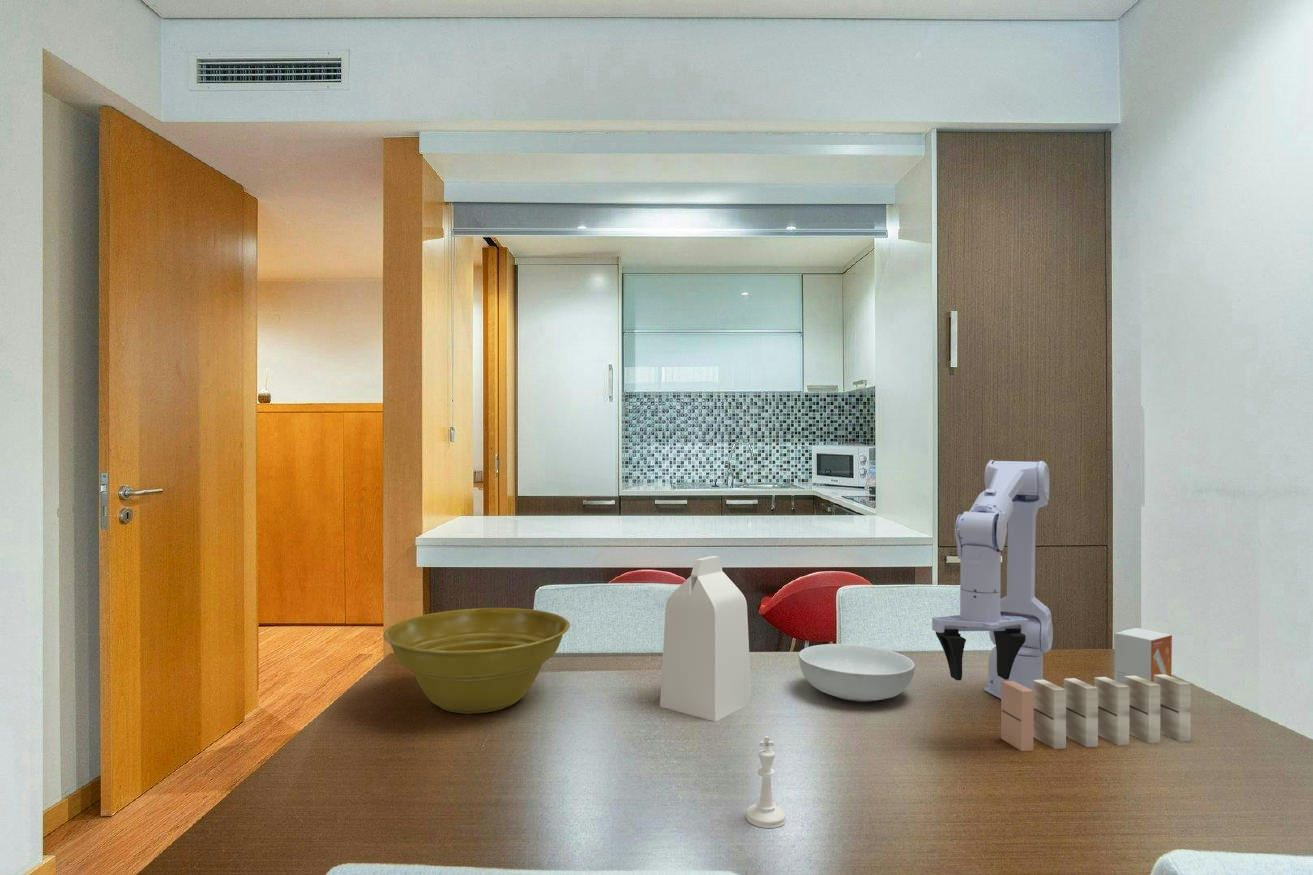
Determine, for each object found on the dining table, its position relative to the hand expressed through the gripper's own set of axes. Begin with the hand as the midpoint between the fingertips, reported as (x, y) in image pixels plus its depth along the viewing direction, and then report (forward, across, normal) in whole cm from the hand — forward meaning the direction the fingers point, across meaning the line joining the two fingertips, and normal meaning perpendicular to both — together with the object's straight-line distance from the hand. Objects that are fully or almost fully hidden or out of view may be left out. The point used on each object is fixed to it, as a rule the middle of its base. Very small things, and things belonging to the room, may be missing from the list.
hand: (979, 678), depth 116 cm
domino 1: (+10, +12, +1) cm, 16 cm away
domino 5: (+10, +34, +2) cm, 36 cm away
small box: (+11, +40, +16) cm, 44 cm away
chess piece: (+11, -38, -19) cm, 44 cm away
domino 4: (+10, +28, +2) cm, 30 cm away
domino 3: (+10, +23, +2) cm, 25 cm away
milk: (+11, -39, +22) cm, 46 cm away
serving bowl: (+11, -10, +26) cm, 29 cm away
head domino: (+10, +6, 0) cm, 12 cm away
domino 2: (+10, +18, +1) cm, 20 cm away
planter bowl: (+11, -79, +26) cm, 84 cm away
